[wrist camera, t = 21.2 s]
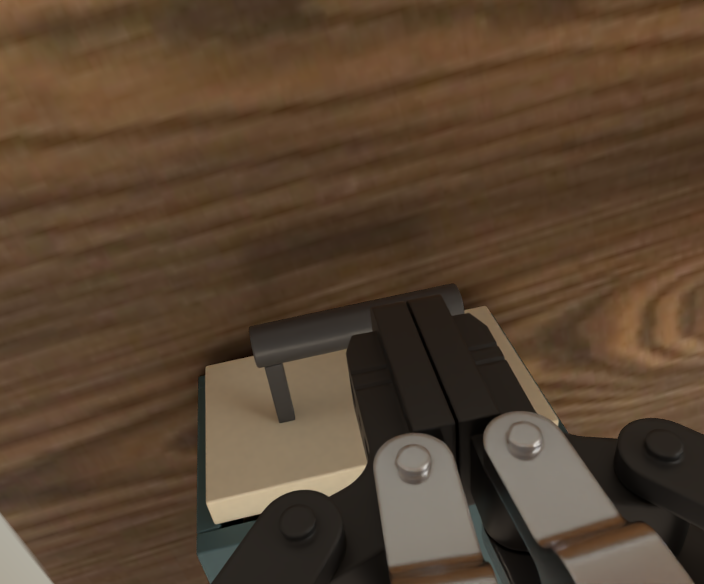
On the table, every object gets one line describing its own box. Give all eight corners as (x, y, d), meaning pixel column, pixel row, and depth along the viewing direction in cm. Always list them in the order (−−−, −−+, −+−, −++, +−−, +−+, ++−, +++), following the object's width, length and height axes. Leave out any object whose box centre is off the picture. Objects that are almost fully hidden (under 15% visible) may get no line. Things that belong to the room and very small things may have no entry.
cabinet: (197, 375, 27) (195, 555, 20) (491, 311, 28) (586, 459, 21) (261, 557, 35) (276, 732, 28) (489, 501, 36) (558, 655, 29)
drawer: (176, 282, 23) (168, 413, 18) (486, 219, 24) (569, 323, 19) (265, 544, 33) (277, 683, 27) (485, 491, 34) (540, 613, 28)
